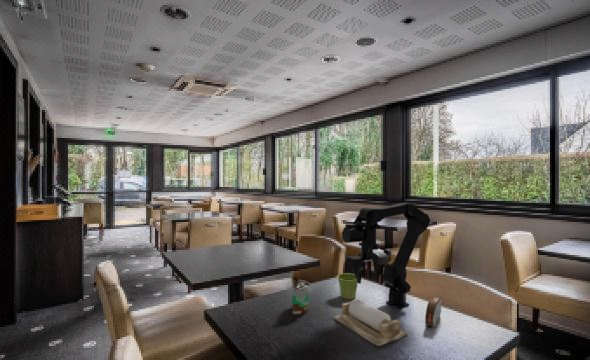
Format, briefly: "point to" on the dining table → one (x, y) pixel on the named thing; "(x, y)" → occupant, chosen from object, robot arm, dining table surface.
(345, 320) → the holder
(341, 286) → the plant pot
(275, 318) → the dining table surface
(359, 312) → the paper roll
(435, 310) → the tin
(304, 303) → the food container
